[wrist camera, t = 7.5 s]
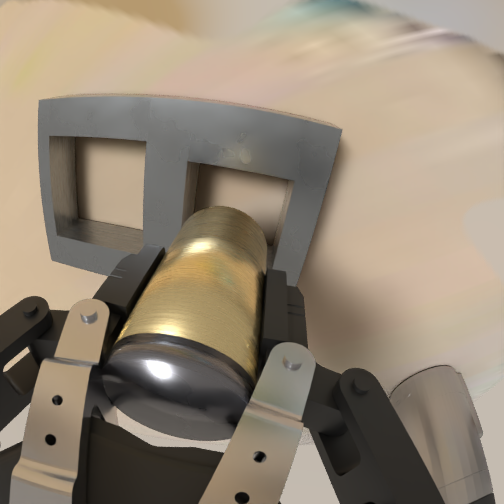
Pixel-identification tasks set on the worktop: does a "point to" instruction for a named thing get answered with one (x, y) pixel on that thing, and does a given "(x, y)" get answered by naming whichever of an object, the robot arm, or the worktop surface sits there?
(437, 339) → the worktop surface
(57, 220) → the grey fitting block
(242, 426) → the robot arm
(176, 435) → the gold and grey cylinder
